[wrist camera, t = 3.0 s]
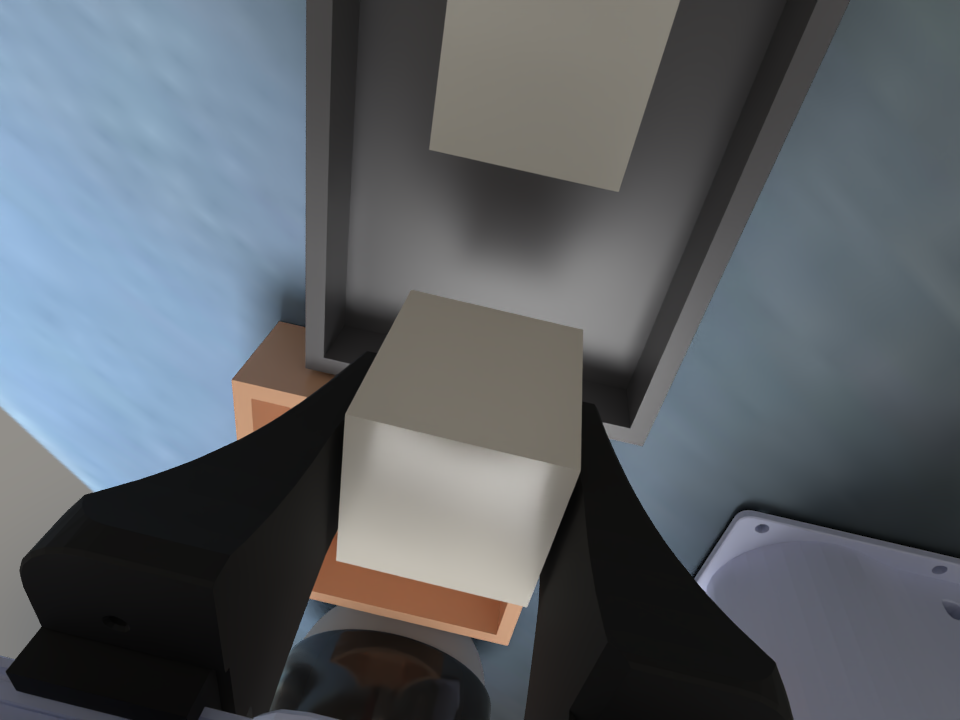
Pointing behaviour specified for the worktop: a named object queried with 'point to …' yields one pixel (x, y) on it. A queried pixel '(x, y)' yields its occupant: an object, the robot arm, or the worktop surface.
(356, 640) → the dark grey rounded dome
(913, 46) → the worktop surface
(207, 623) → the robot arm
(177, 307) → the worktop surface
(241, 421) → the terracotta dish
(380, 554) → the stone
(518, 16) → the stone
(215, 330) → the worktop surface
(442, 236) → the parts tray
